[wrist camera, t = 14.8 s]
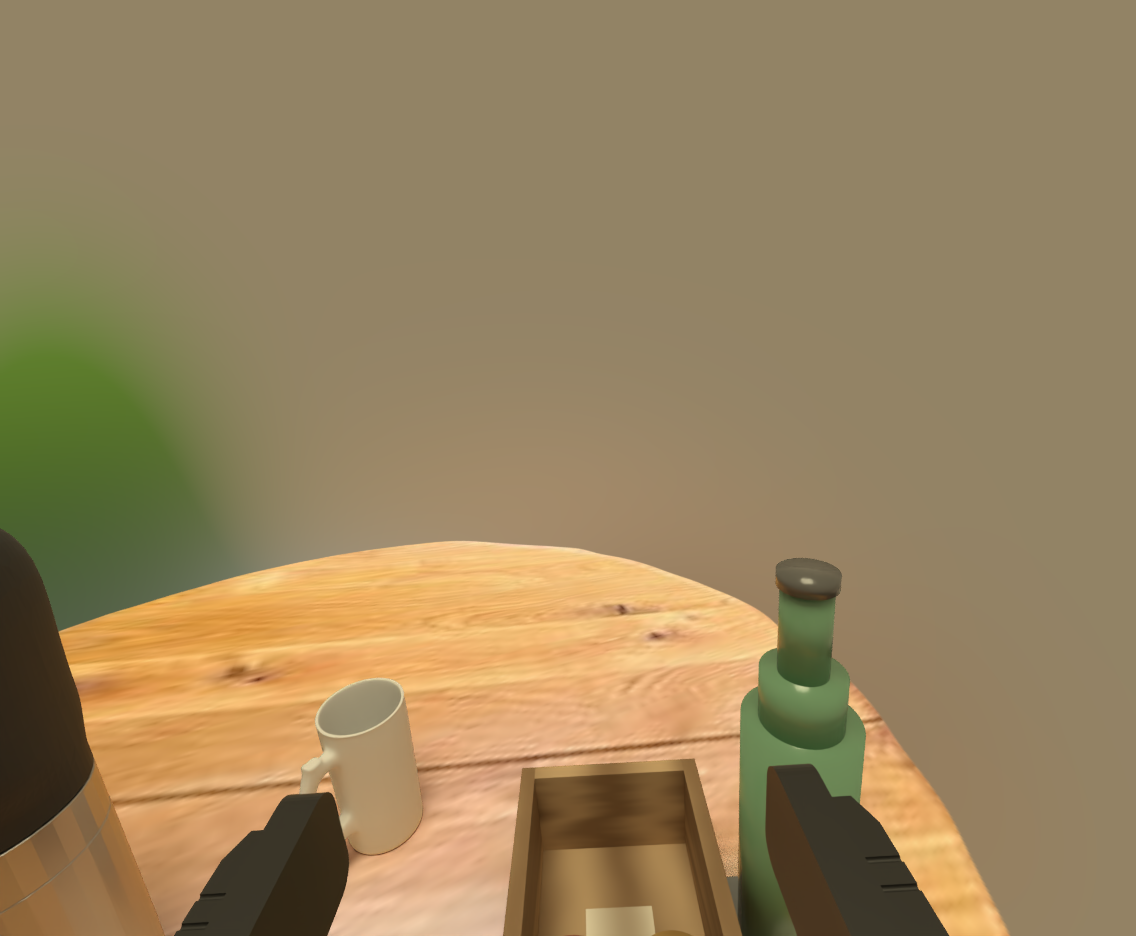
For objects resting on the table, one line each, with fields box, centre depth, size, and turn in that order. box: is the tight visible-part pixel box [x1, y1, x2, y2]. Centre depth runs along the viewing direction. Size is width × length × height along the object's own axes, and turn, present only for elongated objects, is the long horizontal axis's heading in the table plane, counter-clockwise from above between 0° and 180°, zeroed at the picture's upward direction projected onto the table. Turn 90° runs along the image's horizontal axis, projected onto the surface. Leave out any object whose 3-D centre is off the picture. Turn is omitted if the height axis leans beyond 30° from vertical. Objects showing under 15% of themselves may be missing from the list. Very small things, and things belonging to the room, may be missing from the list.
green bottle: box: [737, 558, 866, 936], centre depth 30 cm, size 6×6×27 cm
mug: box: [299, 678, 423, 855], centre depth 43 cm, size 10×7×12 cm, turn 153°
